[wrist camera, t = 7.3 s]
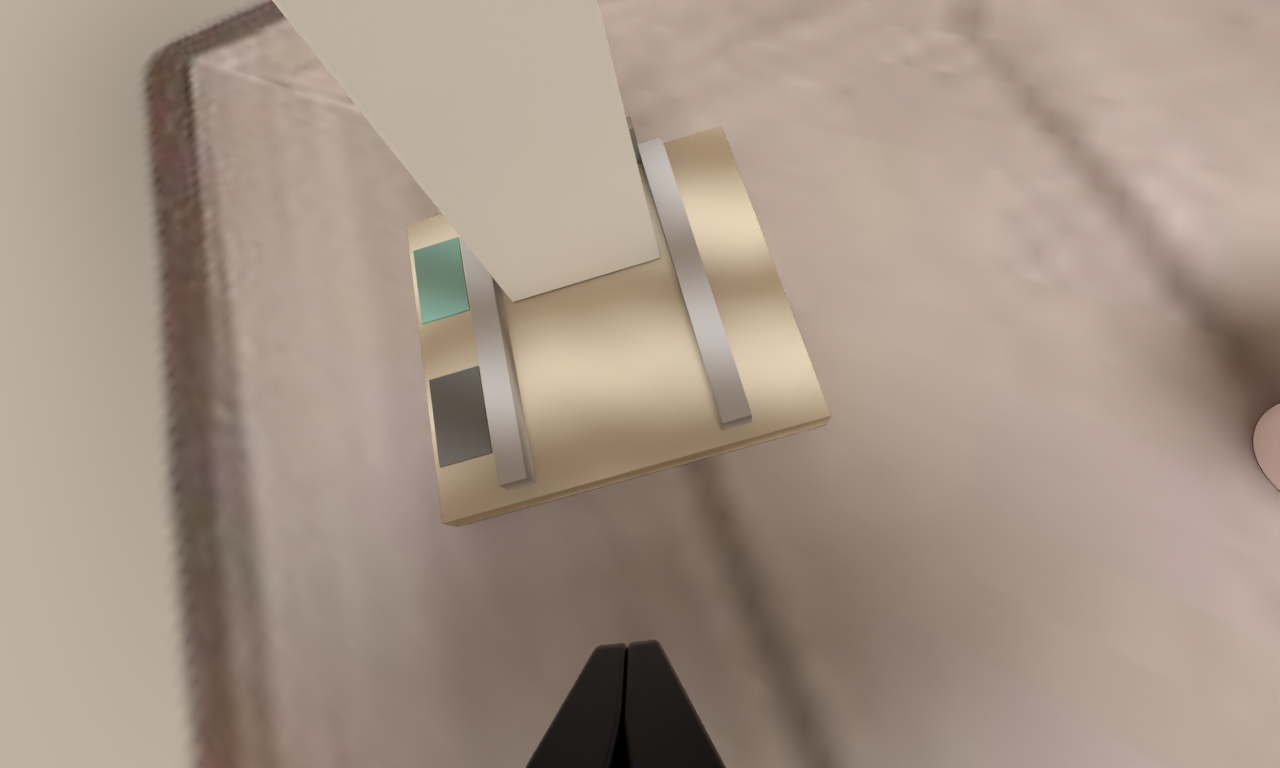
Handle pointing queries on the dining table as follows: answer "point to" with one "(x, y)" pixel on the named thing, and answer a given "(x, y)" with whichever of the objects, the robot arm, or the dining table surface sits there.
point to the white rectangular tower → (498, 125)
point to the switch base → (612, 349)
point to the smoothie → (1269, 444)
